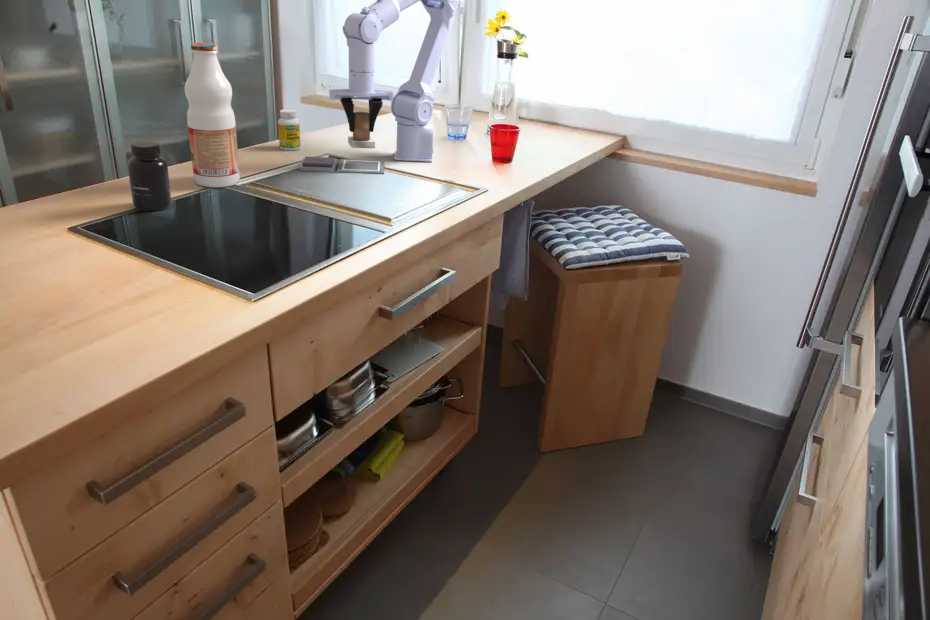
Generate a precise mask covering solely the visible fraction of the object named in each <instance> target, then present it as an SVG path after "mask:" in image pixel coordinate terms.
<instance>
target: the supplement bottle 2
mask: <svg viewBox="0 0 930 620" xmlns="http://www.w3.org/2000/svg"><path fill="white" fill-rule="evenodd" d="M279 116H280V118H279V119H278V120H277V126H278V127H277V128H278V129H277V131H278V142H279V143H278V145H279V149H281V150H282V151H298V150H300V149H301V129H300V128H301V126H300V121H299V119H298V118H296V117H297V110H295V109H290V108H289V109H287V108H286V109H280V110H279Z"/></svg>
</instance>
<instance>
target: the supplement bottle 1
mask: <svg viewBox="0 0 930 620" xmlns="http://www.w3.org/2000/svg"><path fill="white" fill-rule="evenodd" d="M130 149H131V152H130V153H131V155H132V157H131V158H129V159H128V162H127V171H128V178H129V180H128V181H129V185H130V192H131V199H132V205H133V207H134V208H135V209H137V211H141V212H142V211H143V212H159V211H164V210H166V209H169V208H170V207H171V206H172V193H171V186H170V175H169V169H168V168H169V167H168V162H167V161H166V159H165V158H164V157H162V156H160V155H161V150H160V144H159V143H158V142H156V141H150V140H149V141H148V140H147V141H146V140H145V141H144V140H141V141H140V140H139V141H135V142H132V143H131V144H130Z"/></svg>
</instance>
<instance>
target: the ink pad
mask: <svg viewBox="0 0 930 620" xmlns="http://www.w3.org/2000/svg"><path fill="white" fill-rule="evenodd" d="M337 165H338V160H337V159H335V157H324V156H323V157H321V156H305V157H304V158H302V161H301V163H300V165H299V171H300V172H301V171H303V172H304V171H305V172H320V173H321V172H325V173H335V172H336V170H337V169H336V168H337V167H338V166H337Z"/></svg>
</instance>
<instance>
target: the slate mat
mask: <svg viewBox="0 0 930 620" xmlns="http://www.w3.org/2000/svg"><path fill="white" fill-rule="evenodd" d="M337 165H338V166H337V167H336V168H337V169H336V172H337V173H343V174H344V173H349V174H372V175H375V174H376V175H384V174H385V160H371V159H370V160H369V159H353V158H352V159H349V158H348V159H347V158H340V159H339V162H338V164H337Z"/></svg>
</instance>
